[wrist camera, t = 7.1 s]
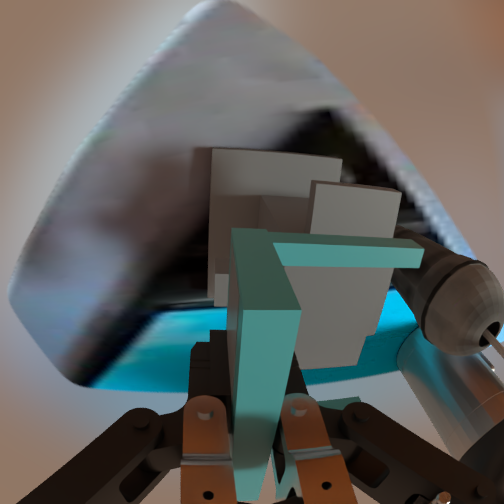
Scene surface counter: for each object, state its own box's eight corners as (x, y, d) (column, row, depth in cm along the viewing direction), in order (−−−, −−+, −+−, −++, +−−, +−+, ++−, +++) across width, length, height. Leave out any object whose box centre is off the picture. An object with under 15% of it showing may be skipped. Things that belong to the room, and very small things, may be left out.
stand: (336, 157, 26) (411, 186, 15) (316, 290, 31) (360, 374, 20) (212, 147, 25) (207, 167, 14) (208, 289, 30) (205, 381, 19)
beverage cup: (400, 196, 28) (566, 300, 10) (430, 245, 31) (563, 357, 13) (346, 246, 30) (476, 400, 11) (382, 290, 32) (491, 431, 14)
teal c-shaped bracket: (411, 237, 12) (492, 299, 7) (354, 406, 16) (384, 478, 11) (230, 227, 11) (242, 309, 6) (222, 416, 15) (228, 501, 10)
